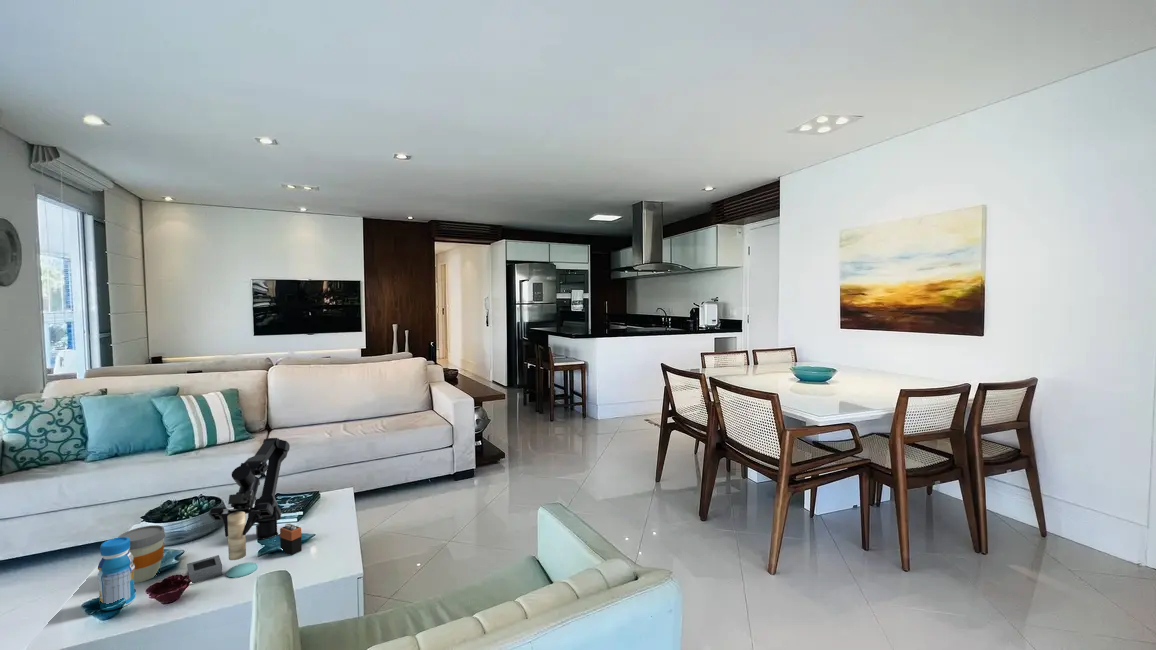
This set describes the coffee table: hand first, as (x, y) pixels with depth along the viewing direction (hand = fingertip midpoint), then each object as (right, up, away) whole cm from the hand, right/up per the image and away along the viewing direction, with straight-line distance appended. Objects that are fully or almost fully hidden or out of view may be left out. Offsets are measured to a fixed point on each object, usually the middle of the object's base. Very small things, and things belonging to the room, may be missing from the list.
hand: (235, 535), depth 170 cm
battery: (+10, -13, +16) cm, 23 cm away
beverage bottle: (-25, -14, -17) cm, 33 cm away
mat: (+1, -13, +2) cm, 14 cm away
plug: (0, -8, +2) cm, 8 cm away
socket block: (-11, -13, 0) cm, 17 cm away
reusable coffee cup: (-31, -14, -1) cm, 34 cm away
